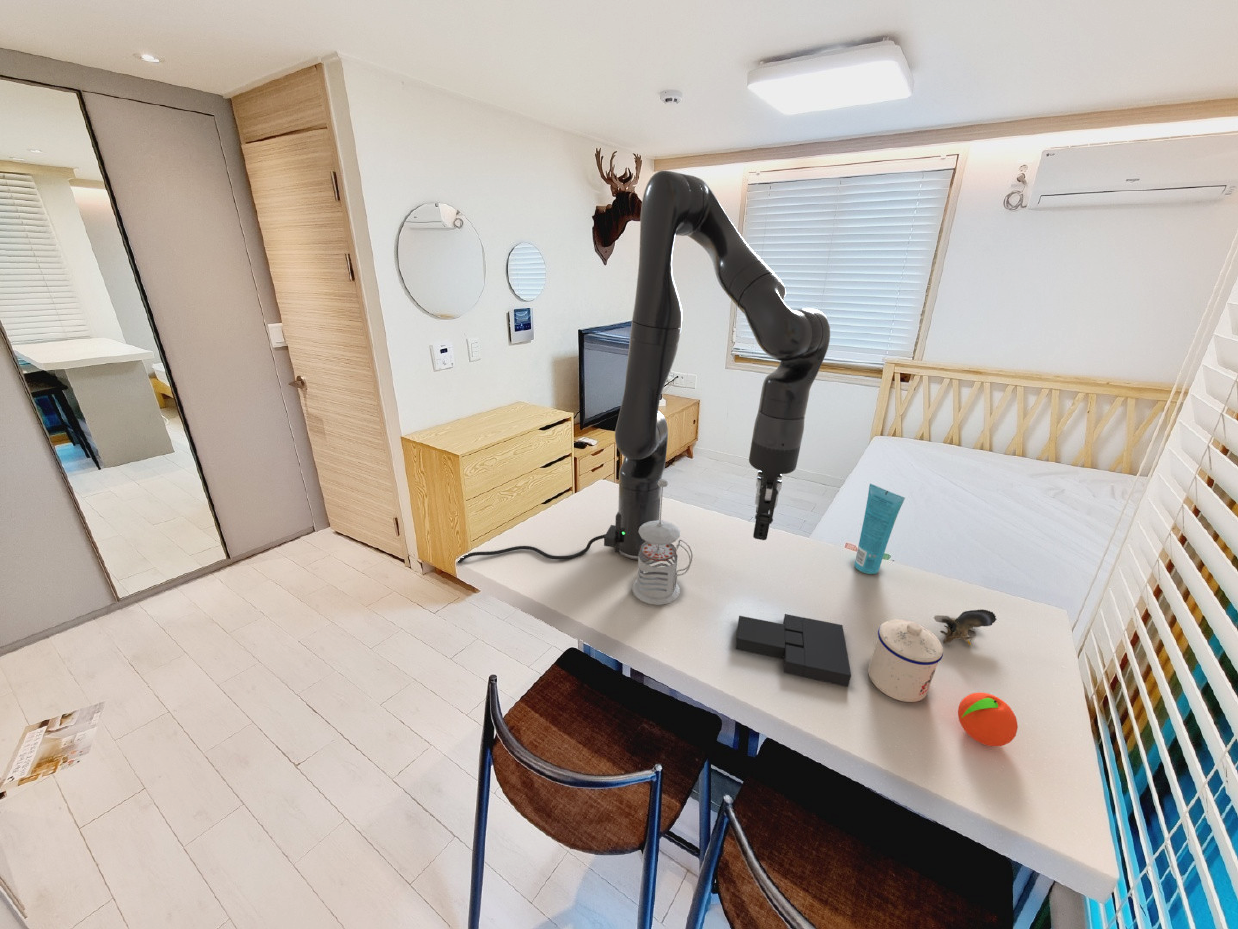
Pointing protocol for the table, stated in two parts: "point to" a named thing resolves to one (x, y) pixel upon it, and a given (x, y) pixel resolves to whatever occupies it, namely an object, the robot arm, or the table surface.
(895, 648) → the teacup with lid
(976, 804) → the table surface
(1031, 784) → the table surface
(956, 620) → the eagle figurine
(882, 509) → the tube
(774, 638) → the small pad
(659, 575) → the french press
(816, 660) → the large pad
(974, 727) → the clementine
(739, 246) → the robot arm
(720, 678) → the table surface
